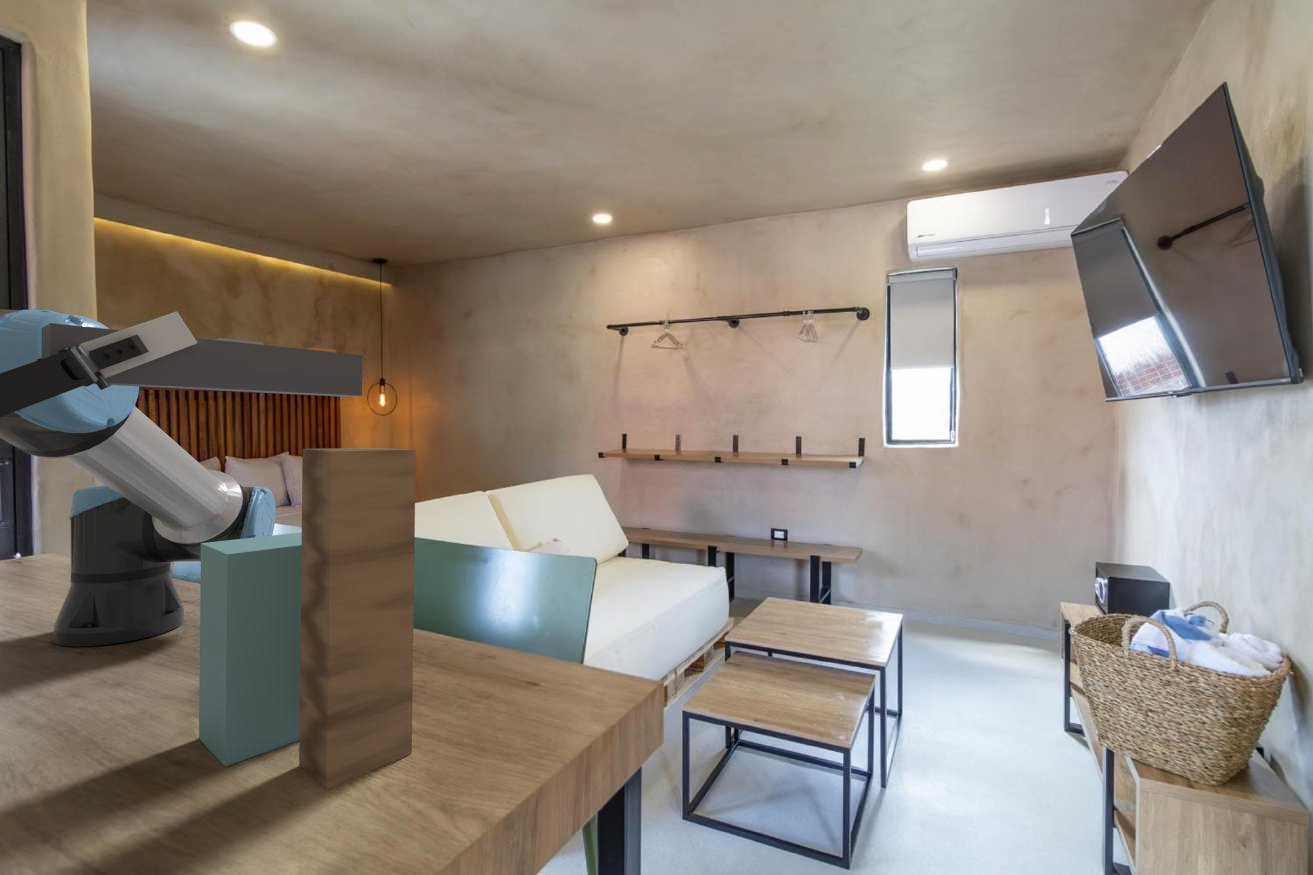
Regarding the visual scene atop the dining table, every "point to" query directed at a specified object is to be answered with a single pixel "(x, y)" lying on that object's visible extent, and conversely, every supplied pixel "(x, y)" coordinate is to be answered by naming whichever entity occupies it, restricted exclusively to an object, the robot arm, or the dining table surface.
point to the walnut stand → (356, 610)
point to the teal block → (250, 645)
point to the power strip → (228, 365)
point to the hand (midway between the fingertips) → (176, 330)
